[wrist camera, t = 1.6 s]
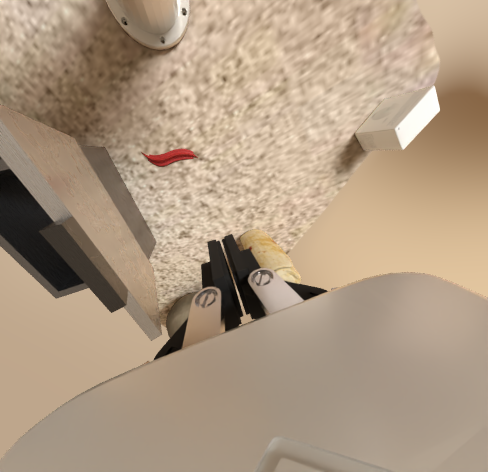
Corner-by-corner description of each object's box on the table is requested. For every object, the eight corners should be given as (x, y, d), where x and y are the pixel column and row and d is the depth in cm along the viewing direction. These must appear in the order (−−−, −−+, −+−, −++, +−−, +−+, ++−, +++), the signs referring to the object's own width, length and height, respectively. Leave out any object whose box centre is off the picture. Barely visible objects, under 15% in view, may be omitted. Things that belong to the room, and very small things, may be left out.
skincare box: (363, 151, 48) (403, 151, 39) (353, 133, 46) (393, 128, 36) (393, 118, 47) (442, 110, 37) (384, 97, 44) (435, 83, 34)
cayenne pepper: (139, 161, 37) (137, 162, 35) (140, 137, 35) (137, 136, 33) (198, 174, 41) (198, 175, 39) (200, 152, 39) (201, 153, 37)
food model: (235, 245, 51) (257, 293, 33) (242, 224, 48) (269, 264, 31) (265, 250, 54) (299, 296, 36) (272, 230, 52) (313, 270, 34)
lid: (-94, 82, 8) (-55, 79, 8) (63, 139, 23) (74, 137, 24) (152, 359, 18) (164, 351, 19) (147, 271, 34) (153, 268, 34)
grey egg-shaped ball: (218, 278, 54) (226, 319, 41) (216, 312, 60) (222, 357, 46) (169, 282, 50) (160, 327, 37) (172, 317, 56) (165, 368, 43)
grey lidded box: (4, 156, 31) (-93, 157, 21) (97, 134, 33) (52, 125, 23) (96, 269, 43) (64, 306, 33) (160, 249, 45) (149, 277, 35)
